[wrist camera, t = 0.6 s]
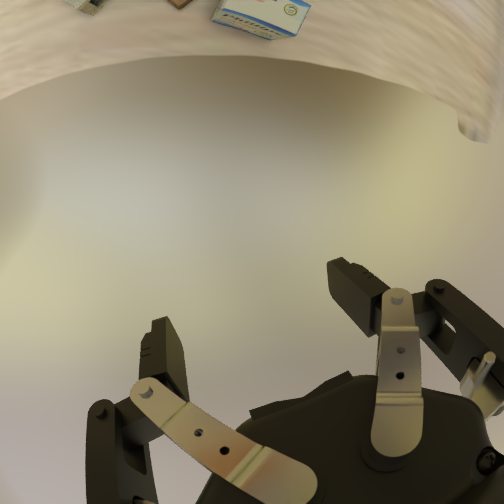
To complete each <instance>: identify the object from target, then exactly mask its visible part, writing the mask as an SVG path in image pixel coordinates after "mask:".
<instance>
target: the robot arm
mask: <svg viewBox="0 0 504 504" xmlns="http://www.w3.org/2000/svg"><path fill="white" fill-rule="evenodd" d="M327 273H328V285H329V291H330V294H331V296H332V298H333V299H334V300H335V301H336V302H337V304H338V305H339V306H340V307H341V308H342V309H343V310H344V311H345V312H346V313H347V315H348V316H349V317H350V318H351V319H352V320H353V321H354V322H355V323H356V325H358V327H359V328H360V329H361V330H362V331H363V332H364V333H365V335H366V336H367V337H371V336H373V335H375V334H377V335H378V336H379V337H378V348H377V360H376V370H375V375H359V376H352V375H351V374H350V372H349V371H346V372H344V373H342V374H340V375H338V376H336V377H334V378H331V379H329V380H327V381H325V382H324V383H323V384H321V385H320V386H319V387H317V388H316V389H314V390H313V391H312V392H310V393H309V394H307V395H306V396H304V397H302V398H296V399H290V400H283V401H277V402H273V403H270V404H267V405H264V406H261V407H258V408H255V409H252V410H249V412H250V415H251V418H250V419H248V420H246V421H245V422H244V423H242V424H241V425H240V426H239V427H238V428H237V429H236V430H233V429H231V428H230V427H228V426H227V425H225V424H223V423H222V422H220V421H218V420H217V419H215V418H214V417H212V416H211V415H209V414H208V413H206V412H205V411H203V410H202V409H200V408H199V407H198V406H196V405H195V404H193V403H192V402H190V400H189V392H188V385H187V377H186V368H185V360H184V351H183V347H182V344H181V341H180V339H179V337H178V335H177V333H176V331H175V329H174V327H173V325H172V323H171V322H170V320H169V318H168V317H167V316H166V317H162V318H159V319H156V320H153V321H152V329H151V332H149V333H146V334H145V336H144V338H143V339H142V341H141V352H140V365H139V381H137V382H136V383H135V384H134V385H133V386H132V388H131V391H130V396H129V397H128V398H126V399H124V400H122V401H120V402H118V403H116V404H113V403H112V402H111V401H110V400H107V399H102V400H99V401H97V402H95V403H94V404H93V405H92V406H91V407H90V409H89V411H88V418H87V431H86V460H85V464H86V468H85V469H86V498H87V504H159V503H158V499H157V494H156V488H155V483H154V477H153V471H152V466H151V458H150V451H149V443H148V442H150V441H152V440H154V439H156V438H158V437H160V436H162V435H163V434H165V435H166V436H167V437H168V438H170V439H171V440H172V441H173V442H174V443H175V444H177V445H178V446H179V447H180V448H181V449H182V450H184V451H185V452H186V453H187V454H189V455H190V456H191V457H192V458H194V459H195V460H196V461H197V462H199V463H200V464H201V465H202V466H204V467H205V468H206V469H208V470H209V471H210V472H212V474H211V476H210V478H209V480H208V481H207V483H206V485H205V487H204V489H203V491H202V493H201V495H200V496H199V498H198V500H197V502H196V504H504V455H502V454H501V453H499V452H498V451H496V450H495V449H494V447H493V446H492V445H491V442H490V440H489V437H488V434H487V430H486V426H485V422H486V421H487V420H488V419H489V418H490V417H491V416H497V415H499V414H500V413H501V412H502V411H503V410H504V328H503V327H502V326H501V325H500V324H498V323H497V322H496V321H495V320H494V319H493V318H491V317H490V316H489V315H488V314H487V313H485V311H483V310H482V309H481V308H480V307H478V306H477V305H476V304H475V303H474V302H472V301H471V300H470V299H469V298H467V297H466V296H465V295H464V294H462V293H461V292H460V291H459V290H457V289H456V288H455V287H454V286H452V285H451V284H450V283H448V282H447V281H445V280H441V279H433V280H431V281H429V282H428V283H427V284H426V286H425V291H423V292H419V293H414V294H410V293H409V292H408V291H407V290H405V289H402V288H392V289H391V288H390V287H389V286H387V285H386V284H385V283H384V282H382V281H381V280H380V279H379V278H377V277H376V276H374V275H373V274H372V273H371V272H369V271H368V270H367V269H366V268H365V267H363V266H362V265H359V264H355V263H352V264H350V263H349V262H348V261H346V260H345V259H344V258H343V257H339V258H337V259H334V260H331V261H329V262H327ZM445 320H447V321H448V322H449V323H450V324H451V325H452V326H453V327H454V329H455V331H456V333H455V332H454V331H453V330H452V329H451V328H450V327H449V326H447V324H445ZM420 338H421V339H422V340H423V341H424V342H425V343H426V344H427V346H428V347H429V348H430V349H431V350H432V351H433V352H434V353H435V354H436V356H437V357H438V358H439V359H440V360H441V361H442V362H443V363H444V364H445V366H446V367H447V368H448V369H449V370H450V371H451V373H452V374H453V375H454V376H455V377H456V378H457V380H458V381H459V382H460V391H461V393H462V396H458V395H453V394H449V393H444V392H440V391H435V390H430V389H427V388H422V387H421V355H420Z"/></svg>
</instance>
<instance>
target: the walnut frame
mask: <svg viewBox="0 0 504 504" xmlns="http://www.w3.org/2000/svg"><path fill="white" fill-rule="evenodd" d="M168 1H169V2H170V3H172V4H173V5H174V6H175V7H176V8H177V9H179V10H180V9H181V8H183V7H184V6H185V5H187V4H188V3H189V2H191V1H192V0H168Z"/></svg>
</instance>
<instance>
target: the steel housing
mask: <svg viewBox="0 0 504 504" xmlns="http://www.w3.org/2000/svg"><path fill="white" fill-rule="evenodd" d="M65 1H66V2H68V3H69V4H70V5H72V6H73V7H75V8H76V9H78V10H80V11H83V12H85V13H88V14H90V15H92V16H93V15H94V14H95V13H96V12H97V11H98V10H99V9H100V8H101V7H103V6H104V5H105V4H106V3H107V2H108V1H109V0H65Z"/></svg>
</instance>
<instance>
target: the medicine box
mask: <svg viewBox="0 0 504 504" xmlns="http://www.w3.org/2000/svg"><path fill="white" fill-rule="evenodd" d="M310 7H311V5H310V4H308V3H306V2H304V1H302V0H220V1H219V3H218V6H217V8H216V10H215V12H214V15H213V17H212V19H211V21H213V22H216V23H220V24H224V25H227V26H230V27H234V28H237V29H240V30H243V31H246V32H249V33H252V34H255V35H258V36H260V37H263V38H266V39H269V40H275V39H280V38H287V37H294V36H297V33H298V31H299V29H300V27H301V25H302V23H303V21H304V19H305V17H306V15H307V13H308V10H309V8H310Z"/></svg>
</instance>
